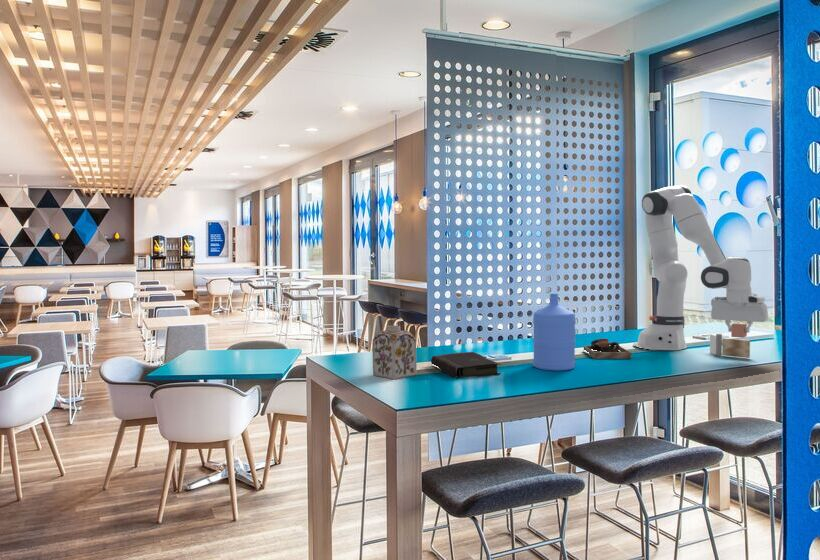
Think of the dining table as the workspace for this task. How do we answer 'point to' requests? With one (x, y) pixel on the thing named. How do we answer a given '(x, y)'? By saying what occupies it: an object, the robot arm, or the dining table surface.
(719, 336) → the light grey slab
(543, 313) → the water jug
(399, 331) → the decorative jar
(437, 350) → the dining table surface
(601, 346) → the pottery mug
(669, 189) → the robot arm
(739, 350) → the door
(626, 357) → the frame
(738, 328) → the salmon pink block
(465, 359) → the diary
